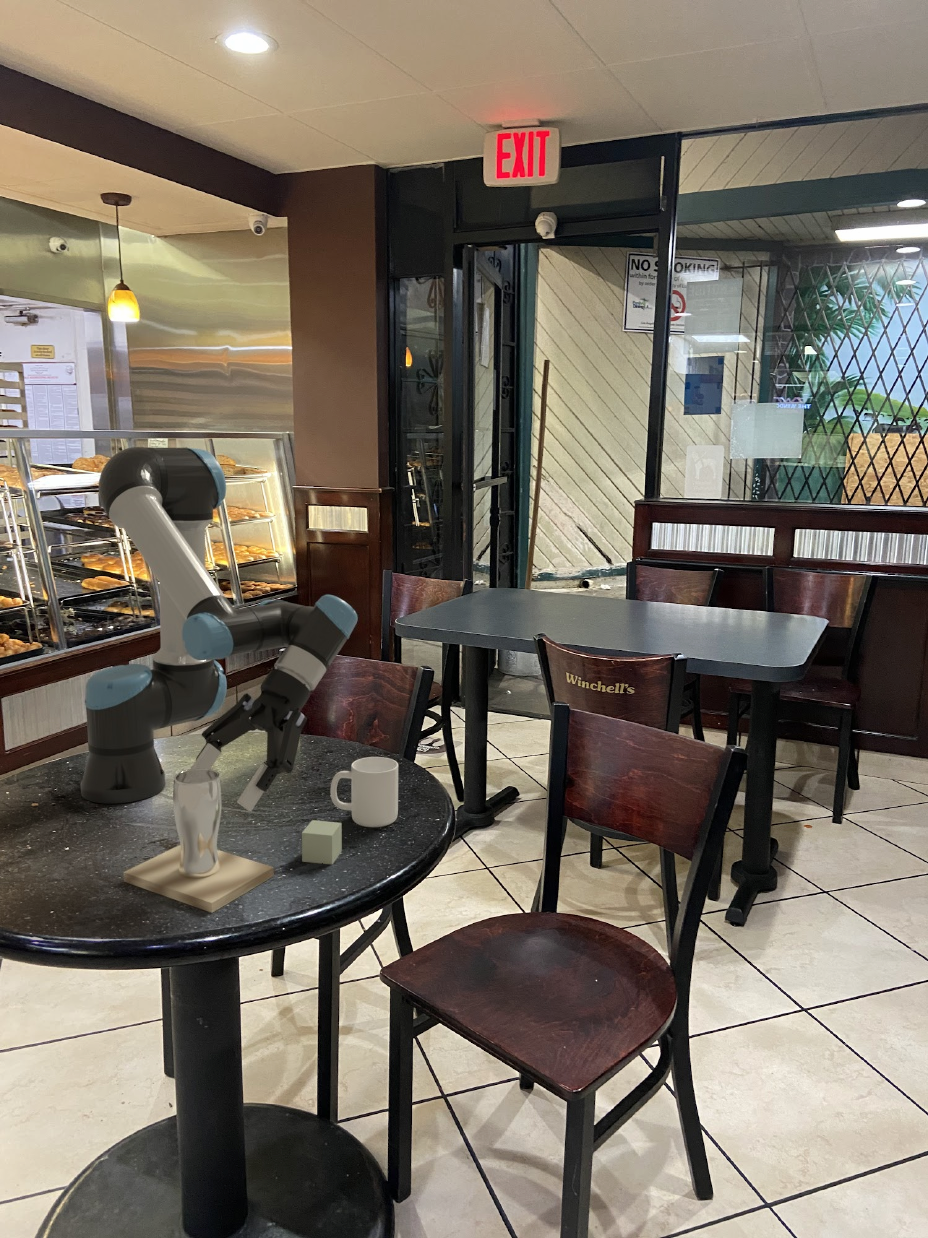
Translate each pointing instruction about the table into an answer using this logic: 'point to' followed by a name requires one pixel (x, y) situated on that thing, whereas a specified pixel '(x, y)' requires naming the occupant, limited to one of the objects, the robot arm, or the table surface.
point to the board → (199, 879)
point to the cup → (370, 791)
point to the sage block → (321, 842)
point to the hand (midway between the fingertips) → (216, 795)
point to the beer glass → (197, 820)
